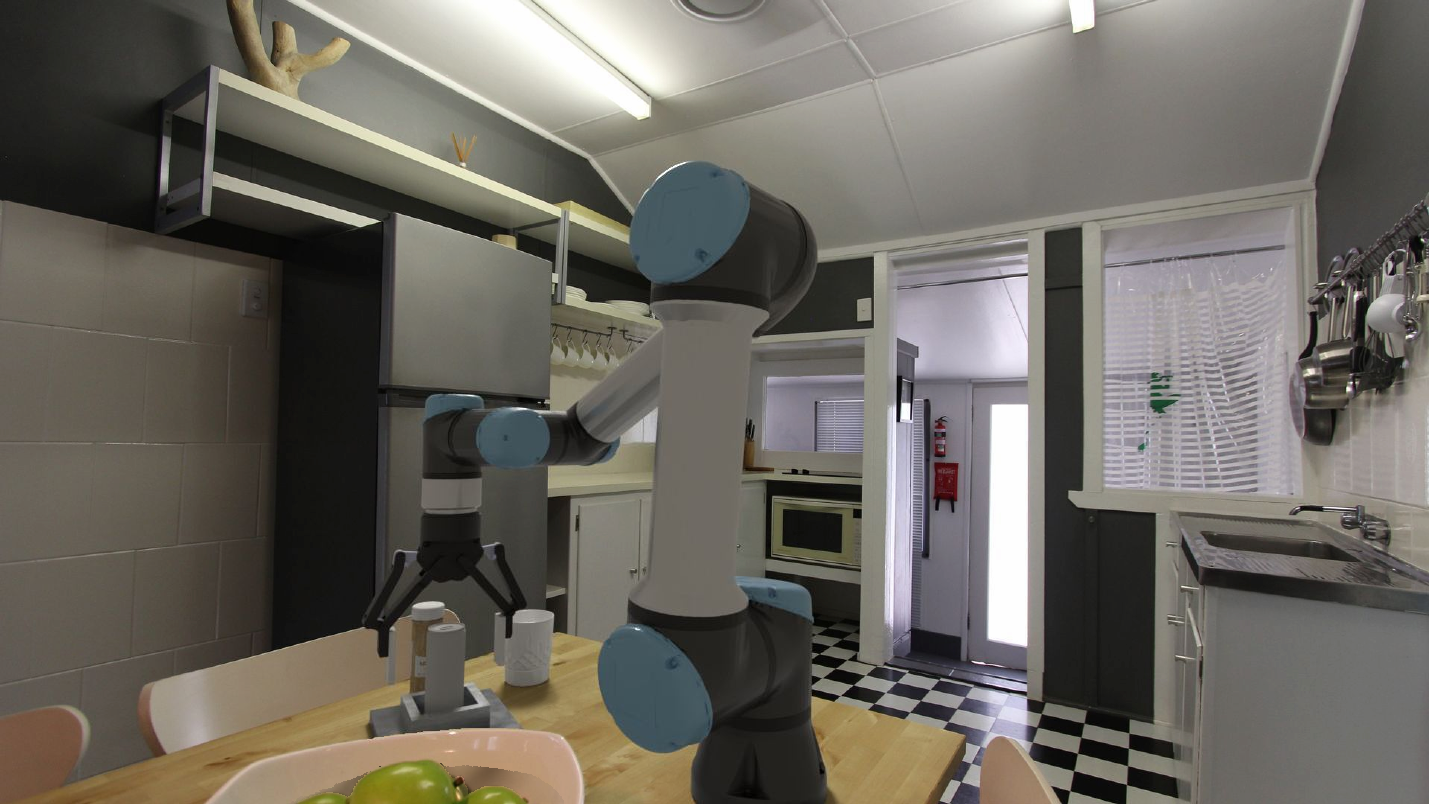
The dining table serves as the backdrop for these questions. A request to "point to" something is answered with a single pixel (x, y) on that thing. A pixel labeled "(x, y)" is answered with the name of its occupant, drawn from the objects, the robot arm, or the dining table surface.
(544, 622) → the white cup
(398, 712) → the gray square base
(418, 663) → the sprinkles bottle
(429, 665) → the beverage can
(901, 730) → the dining table surface
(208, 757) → the dining table surface
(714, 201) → the robot arm
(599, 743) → the dining table surface
